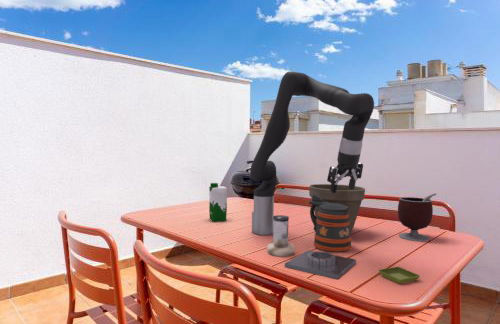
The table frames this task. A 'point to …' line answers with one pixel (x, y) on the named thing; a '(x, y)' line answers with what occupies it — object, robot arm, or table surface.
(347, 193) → the plant pot
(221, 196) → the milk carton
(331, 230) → the beer stein
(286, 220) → the glass jar with lid
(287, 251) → the pedestal
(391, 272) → the olive green shallow tray
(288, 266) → the hub plate
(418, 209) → the mate gourd
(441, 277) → the table surface
